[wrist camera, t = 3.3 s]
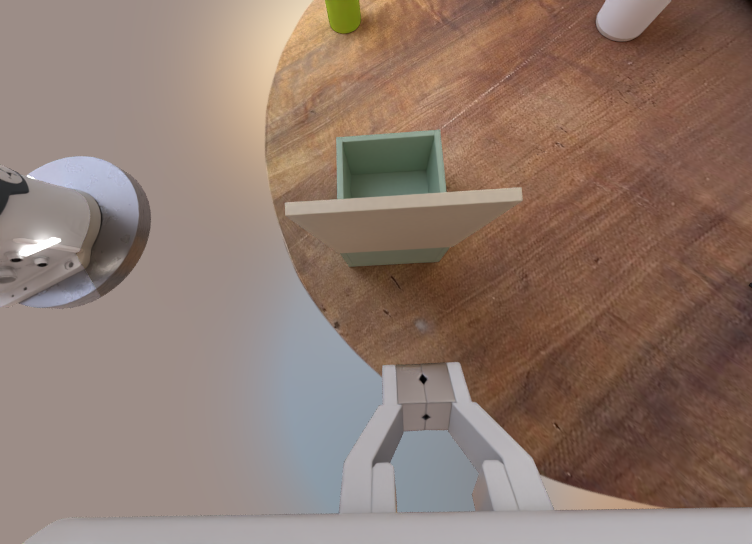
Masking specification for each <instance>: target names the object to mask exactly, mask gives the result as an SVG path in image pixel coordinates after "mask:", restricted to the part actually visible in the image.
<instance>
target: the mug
mask: <svg viewBox="0 0 752 544" xmlns="http://www.w3.org/2000/svg"><path fill="white" fill-rule="evenodd" d="M671 1H672V0H606V1H605V3H604V5H603V6H602V8H601V10H600V11H599V13H598V14H597V18H596V26H597V28H598V31H599V32H600V33H601V34H602V35H603V36H605V37H606V38H608V39H611V40H614V41H629V40H632V39H634V38H636V37H638V36H639V35H640V34H641V33H642V32H643V31H644V30H645V29H646V28H647V27H648V26H649V24H650V23H651V22H652V21H653V20H654V19H655V18H656V17H657V16H658V15H659V14H660V13H661V11H662V10H663V9H664V8H665V7H666V6H667V5H668V4H669V3H670V2H671Z"/></svg>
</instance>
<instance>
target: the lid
mask: <svg viewBox="0 0 752 544" xmlns="http://www.w3.org/2000/svg"><path fill="white" fill-rule="evenodd" d="M522 200H523V199H522V188H521V187H520V188H504V189H489V190H474V191H458V192H443V193H427V194H412V195H397V196H381V197H366V198H351V199H335V200H320V201H304V202H289V203H285V216H287V217H288V218H289V219H291V220H292V221H294V222H295V223H296V224H298V225H299V226H300V227H302V228H303V229H305V230H306V231H307V232H309V233H310V234H312V235H313V236H314V237H316V238H317V239H318V240H320V241H321V242H323V243H324V244H325V245H327V246H328V247H330V248H331V249H332V250H334V251H335V252H336V253H355V252H373V251H390V250H408V249H426V248H443V247H454V246H455V245H457V244H458V243H460V242H461V241H463V240H464V239H466V238H467V237H469V236H470V235H472V234H473V233H475V232H476V231H478V230H479V229H481V228H482V227H484V226H485V225H487V224H488V223H490V222H491V221H493V220H494V219H496V218H497V217H499V216H500V215H502V214H503V213H505V212H506V211H508V210H509V209H511V208H512V207H514V206H515V205H517V204H518V203H520V202H521V201H522Z"/></svg>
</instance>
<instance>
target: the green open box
mask: <svg viewBox="0 0 752 544" xmlns="http://www.w3.org/2000/svg"><path fill="white" fill-rule="evenodd" d="M336 148H337V199H351V198H366V197H381V196H397V195H412V194H427V193H443V192H446V182H445V173H444V163H443V153H442V144H441V134H440V130H430V131H416V132H403V133H390V134H376V135H363V136H349V137H336ZM449 248H450V247H443V248H426V249H408V250H390V251H373V252H355V253H340V254H341V256H342V257H343V259H344V260H345V261H346V263H347V264H348V266H349V267H353V266H371V265H390V264H408V263H427V262H439V261H440V260H441V258H442V257H443V256H444V254H445V253H446V252H447V250H448V249H449Z"/></svg>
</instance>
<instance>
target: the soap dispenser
mask: <svg viewBox="0 0 752 544" xmlns="http://www.w3.org/2000/svg"><path fill="white" fill-rule="evenodd" d="M325 3H326V8H327V13H328V18H329V23H330V26H331V28H332V29H333V30H334V31H336V32H338V33H343V34H345V33H350V32H352V31H354V30H356V29H357V28H358V26H359V25H360V22H361V15H360V5H359V0H325Z"/></svg>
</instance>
